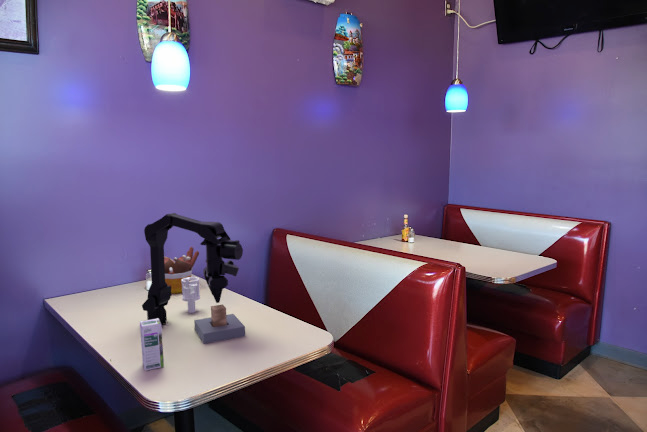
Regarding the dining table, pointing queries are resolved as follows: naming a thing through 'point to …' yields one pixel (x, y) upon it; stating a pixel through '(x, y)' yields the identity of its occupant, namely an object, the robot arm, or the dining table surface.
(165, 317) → the robot arm
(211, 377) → the dining table surface
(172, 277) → the bucket of meat
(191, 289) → the windowed cylinder housing
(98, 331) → the dining table surface
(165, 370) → the dining table surface
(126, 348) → the dining table surface
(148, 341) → the syrup box
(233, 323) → the socket block
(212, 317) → the oak peg
